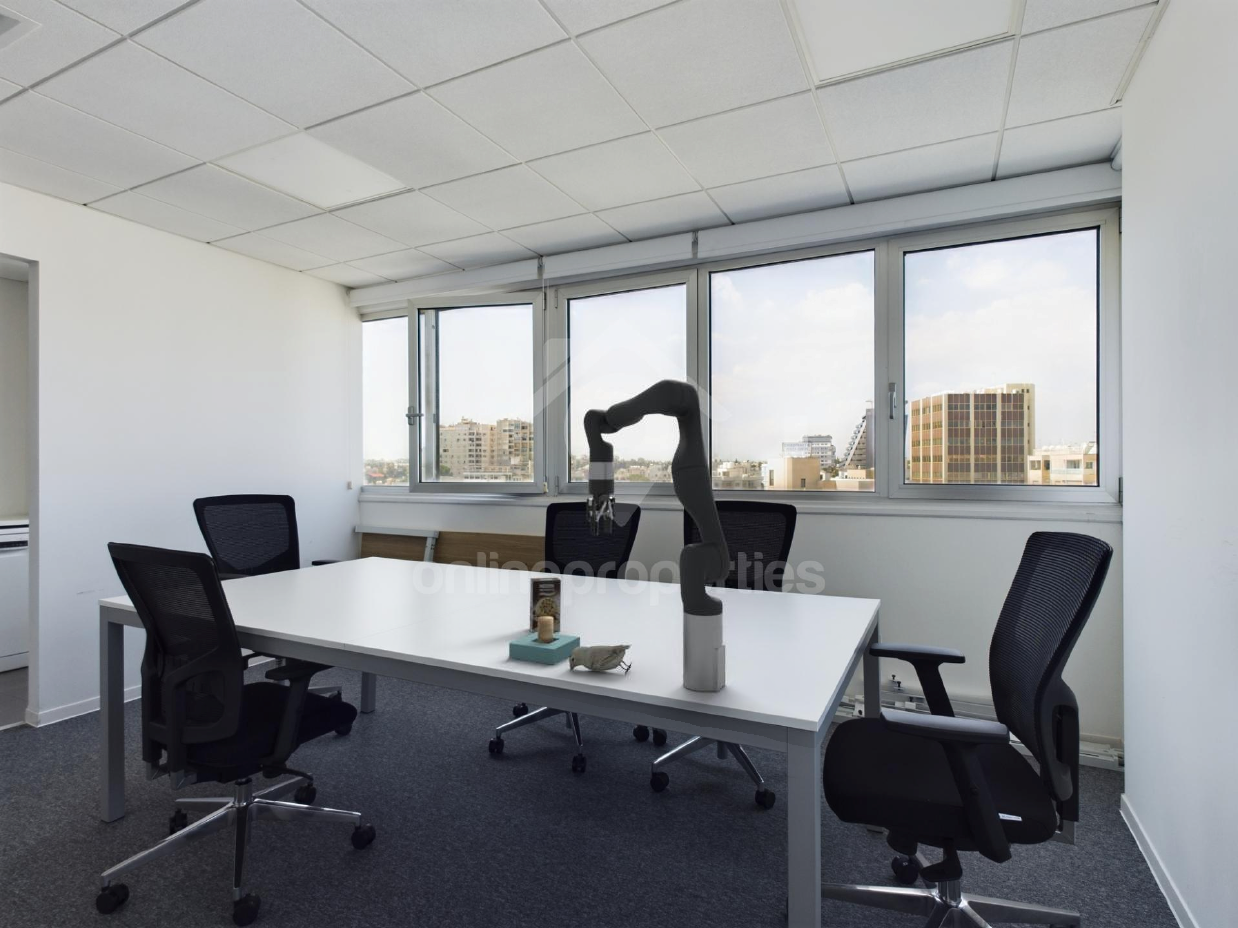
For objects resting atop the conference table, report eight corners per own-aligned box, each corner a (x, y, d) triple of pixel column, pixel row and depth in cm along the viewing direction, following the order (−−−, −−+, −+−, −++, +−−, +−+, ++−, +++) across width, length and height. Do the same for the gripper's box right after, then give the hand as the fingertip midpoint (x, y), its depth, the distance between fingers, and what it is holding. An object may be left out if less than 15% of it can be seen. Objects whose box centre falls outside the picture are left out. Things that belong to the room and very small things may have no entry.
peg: (556, 653, 179) (556, 617, 179) (547, 657, 175) (548, 620, 175) (543, 651, 180) (543, 615, 180) (534, 655, 177) (534, 618, 177)
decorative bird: (573, 666, 167) (573, 637, 167) (633, 671, 163) (634, 642, 163) (566, 672, 162) (566, 642, 162) (628, 678, 158) (628, 647, 158)
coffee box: (532, 633, 201) (532, 581, 201) (529, 628, 207) (529, 577, 208) (561, 631, 204) (561, 579, 204) (557, 626, 210) (557, 576, 210)
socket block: (580, 651, 181) (580, 636, 181) (553, 664, 168) (553, 649, 168) (537, 645, 187) (537, 631, 187) (509, 657, 174) (509, 642, 174)
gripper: (601, 478, 181) (601, 536, 180) (623, 477, 193) (623, 532, 193) (578, 478, 184) (578, 535, 184) (601, 477, 197) (600, 531, 196)
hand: (601, 533), depth 188 cm, fingers open, 8 cm apart
